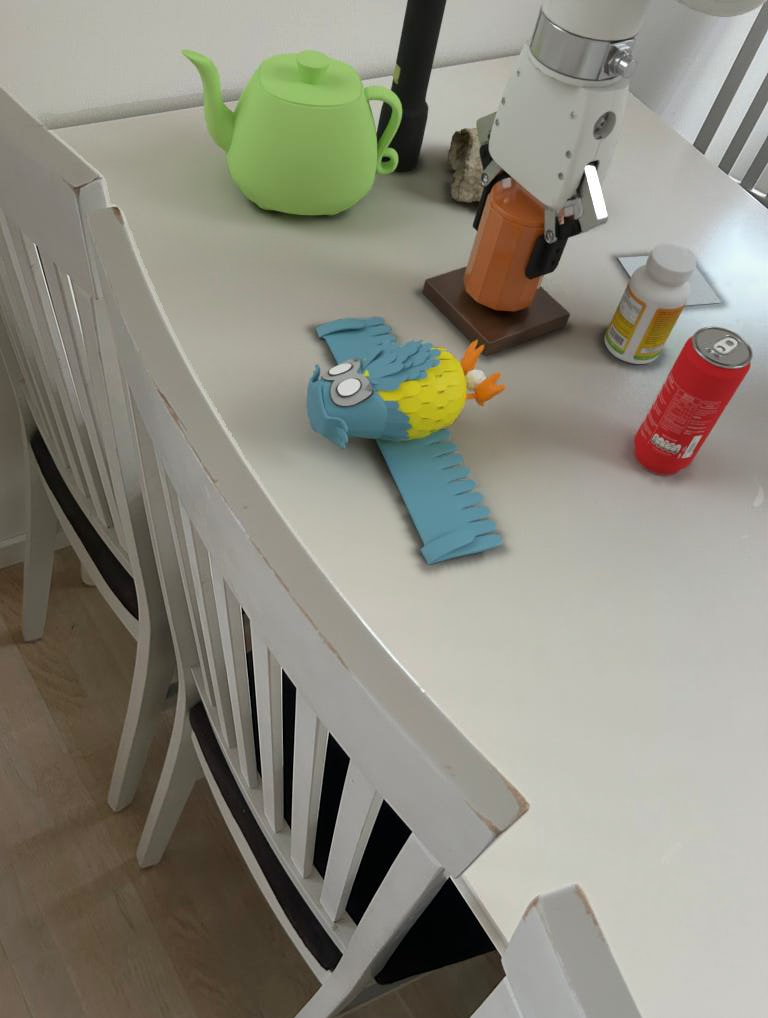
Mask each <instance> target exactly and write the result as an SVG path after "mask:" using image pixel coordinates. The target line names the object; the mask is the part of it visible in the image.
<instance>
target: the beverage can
mask: <svg viewBox="0 0 768 1018" xmlns="http://www.w3.org/2000/svg"><path fill="white" fill-rule="evenodd" d="M753 353H754V352H753V349H752V347H751V345H750V344H749V342H748V341H747V340H746V339H745V338H744V337H742V336H741V335H740V334H739V333H737V332H734V331H732V330H729V329H728V328H724V327H720V326H704V327H701V328H699V329H697V330H696V331H695V332H694V334H693V335H692V336H690V337H688V339H687V340H686V341H685V343H684V345H683V346H682V349H681V350H680V352H679V354H678V356H677V357H676V360H675V362H674V363H673V364H672V366H671V368H670V371H669V373H668V375H667V376H666V378H665V380H664V382H663V384H662V386H661V387H660V389H659V391H658V393H657V395H656V397H654V400H653V402H652V404H651V406H650V408H649V409H648V411H647V413H646V415H645V417H644V419H643V420H642V422H641V424H640V426H639V427H638V430H637V432H636V433H635V436H634V439H633V445H634V447H633V456H634V459H635V460H636V462H637V464H639V465H640V466H641V467H642V468H643V469H644V470H646V471H647V472H650V473H651V474H654V475H658V476H664V477H666V476H667V477H668V476H673V475H676V474H678V473H680V472H681V470H683V469H685V468H687V467H688V466H690V465H691V464H692V462H693V460H694V459H695V457H696V456H697V454H698V453H699V452H700V449H702V446H703V445H704V443H705V441H706V440H707V438H708V437H709V435H710V433H711V432H712V430H713V429H714V427H715V425H716V424H717V422H718V421H719V419H720V417H721V416H722V414H723V413H724V411H725V410H726V408H727V406H728V405H729V403H730V401H731V400H732V398H733V397H734V395H735V394H736V392H737V390H738V389H739V387H740V385H741V384H742V382H743V381H744V379H745V378H746V376H747V374H748V372H749V371H750V369H751V366H752V365H751V363H752V360H753V358H754V357H753V356H754V354H753Z"/></svg>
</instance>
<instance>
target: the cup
mask: <svg viewBox="0 0 768 1018" xmlns="http://www.w3.org/2000/svg"><path fill="white" fill-rule="evenodd" d="M563 223H564V208H563V209H561V210H559V225H560V224H563ZM541 235H544V204H543V203H541V202H540V201H539V200H538V199H537V198H535V197H534V196H533V195H532V194H531V193H530V192H528V191H527V190H526V189H525V188H524V187H523V186H521V185H520V184H519V183H518V182H517V181H516V180H515V179H513V178H512V177H511V178H506V179H503V180H500V181H498V182H497V183H496V184H495V185H494V186H493V187H492V190H491V192H490V193H489V195H488V197H487V200H486V204H485V207H484V210H483V214H482V217H481V220H480V224H479V227H478V231H476V234H475V238H474V241H473V245H472V248H471V251H470V255H469V257H468V261H467V265H466V266H467V268H466V271H465V274H464V278H463V280H464V285H465V290H466V292H467V293H468V294H469V295H470V296H471V297H472V298H473V299H474V300H475V301H476V302H478V303H480V304H482V305H484V306H487V307H489V308H492V309H494V310H500V311H518V310H520V309H523V308H526V307H529V306H530V305H531V304H532V302H533V300H534V299H535V297H536V296H537V293H538V290H539V288H540V286H541V284H542V282H543V279H544V276H545V275H543V276H540V277H537V278H534V279H531V280H529V279H528V278H527V277H526V276H525V270H526V268H527V265H528V262H529V259H530V256H531V253H532V251H533V248H534V245H535V242H536V239H537V238H538V237H539V236H541Z"/></svg>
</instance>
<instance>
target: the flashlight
mask: <svg viewBox="0 0 768 1018" xmlns="http://www.w3.org/2000/svg"><path fill="white" fill-rule="evenodd" d="M447 1H448V0H406V6H405V12H404V17H403V24H402V27H401V28H402V29H401V33H400V38H399V45H398V50H397V54H396V55H397V56H396V60H395V65H394V71H393V73H392V81H391V82H392V83H391V87H390V90H391V91H392V92H394V93H395V94H396V95H397V97H398V98H399V100H400V102H401V106H402V118H401V122H400V125H399V127H398V129H397V132H396V133H395V135H394V137H393V139H392V141H391V142H390V144H389V146H388V148H392V149H394V150H395V151H396V152H397V154H398V164H397V167H396V169H395V170H394V171H393V172H408V171H411V170H414V169H415V168H416V167H417V165H418V163H419V159H420V156H421V155H420V154H421V150H422V147H423V146H422V145H423V142H424V138H425V137H424V136H425V131H426V126H427V122H428V116H429V105H428V102H427V93H428V88H429V83H430V79H431V73H432V71H433V70H432V69H433V65H434V61H435V56H436V51H437V47H438V43H439V37H440V33H441V28H442V24H443V18H444V15H445V10H446V4H447ZM391 115H392V107H391V106H390V105H389V104H388V103H386V102H384V101H382V105H381V108H380V113H379V118H378V123H377V124H378V125H377V128H376V135H377V144H378V142H379V140H380V138H381V137H382V135H383V133H384V131H385V129H386V128H387V126H388V123H389V121H390V119H391ZM390 160H391V158H390V157H382V159H381V162H388V161H390Z"/></svg>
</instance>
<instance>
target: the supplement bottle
mask: <svg viewBox="0 0 768 1018" xmlns="http://www.w3.org/2000/svg"><path fill="white" fill-rule="evenodd" d="M648 256H649V257H648V259H647V262H646V265H643V266H641V267H639V268H638V269H636V270H635V271H634V273H633V274H632V276H631V277H630V278H629V280H628V282H627V284H626V288H625V289H624V292H623V294H622V296H621V299H620V301H619V302H618V305H617V307H616V309H615V312H614V314H613V316H612V318H611V320H610V322H609V325H608V327H607V329H606V332H605V333H604V334H605V335H604V344H605V346H606V348H607V350H608V352H610V353H611V355H613V356H614V357H616V358H617V359H619V360H621V361H623V362H626V363H629V364H635V365H644V364H649V363H652V362H653V361H655V360H656V359H657V358H658V357H659V356H660V354H661V353H662V350H663V348H664V346H665V345H666V343H667V341H668V339H669V338H670V335H671V333H672V331H673V329H674V327H675V325H676V323H677V322H678V320H679V318H680V316H681V314H682V312H683V310H684V308H685V304H686V302H687V300H688V298H689V295H690V285H689V282H688V280H689V279H690V277H691V275H692V273H693V271H694V269H695V267H696V268H697V260H696V258H695V256H694V255H693V254H692V253H691V252H690V251H689V250H687V249H686V248H684V247H681V246H679V245H675V244H668V243H663V244H659V245H656V246H654V247H653V249H652V250H651V252H650V254H649V255H648Z"/></svg>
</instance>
